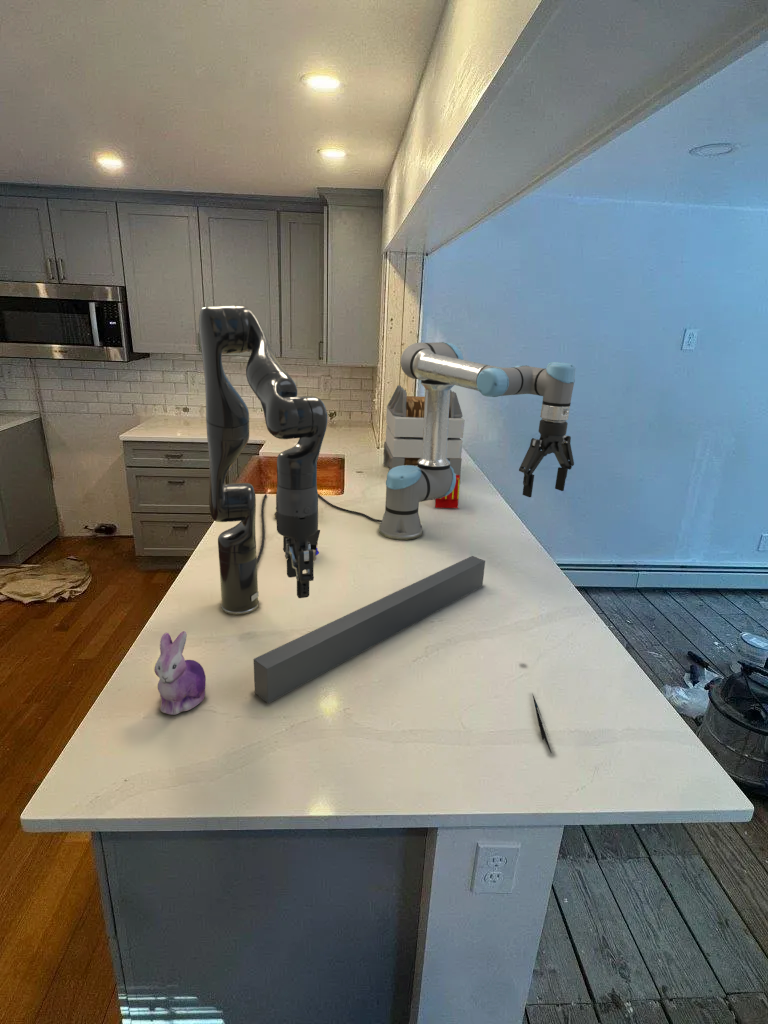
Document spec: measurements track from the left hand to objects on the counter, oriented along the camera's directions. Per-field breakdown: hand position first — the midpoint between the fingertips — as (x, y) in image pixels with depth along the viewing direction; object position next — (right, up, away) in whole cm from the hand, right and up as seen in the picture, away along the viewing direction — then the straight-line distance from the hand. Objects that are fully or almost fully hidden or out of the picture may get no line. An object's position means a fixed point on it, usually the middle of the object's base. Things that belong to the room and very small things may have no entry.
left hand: (297, 586), depth 109 cm
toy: (+41, +20, +132) cm, 139 cm away
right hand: (+63, +20, +56) cm, 87 cm away
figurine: (-23, -23, +3) cm, 33 cm away
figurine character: (-7, 0, +68) cm, 69 cm away
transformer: (+34, +33, +166) cm, 173 cm away
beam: (+18, -15, +31) cm, 39 cm away
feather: (+47, -25, +6) cm, 54 cm away
